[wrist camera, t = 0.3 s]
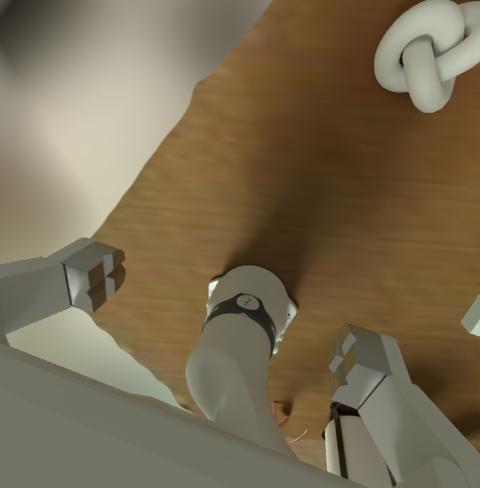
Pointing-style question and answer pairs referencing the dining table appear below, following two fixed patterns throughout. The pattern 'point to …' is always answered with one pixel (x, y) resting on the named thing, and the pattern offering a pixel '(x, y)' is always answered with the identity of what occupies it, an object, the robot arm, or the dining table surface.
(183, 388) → the dining table surface
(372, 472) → the coffee press
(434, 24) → the white knot sculpture
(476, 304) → the keyhole board
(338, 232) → the dining table surface
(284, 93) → the dining table surface
